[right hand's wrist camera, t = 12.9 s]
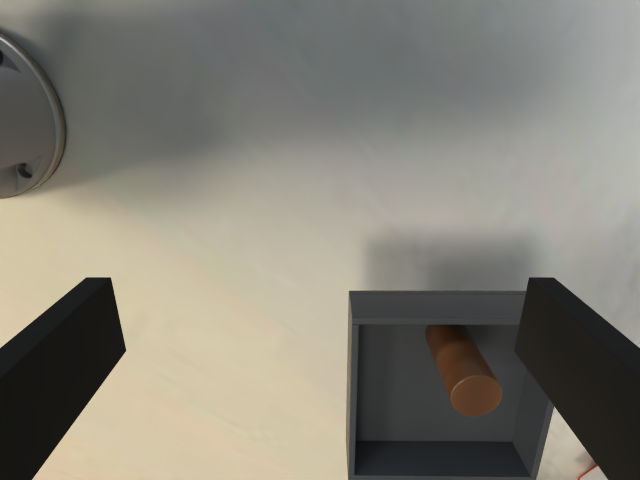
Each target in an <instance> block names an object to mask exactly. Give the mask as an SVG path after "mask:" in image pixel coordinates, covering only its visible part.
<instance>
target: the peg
mask: <svg viewBox="0 0 640 480" xmlns="http://www.w3.org/2000/svg"><path fill="white" fill-rule="evenodd" d="M425 339H426V342H427V344H428V347H429V349H430V352H431V354H432V357H433V359H434V362H435V364H436V367H437V369H438V372H439V374H440V377H441V379H442V382H443V384H444V387H445V389H446V392H447V394H448V397H449V399H450V402H451V404H452V406H453V407H454V409H455V410H456V411H458V412H459V413H461V414H463V415H466V416H481V415H485V414H487V413H489V412H491V411H492V410H494V409H495V408H496V407H497V406H498V404H499V403H500V401H501V399H502V388H501V386H500V384H499V382H498V381H497V379H496V377H495V376H494V374H493V372H492V370H491V369H490V367H489V365H488V364H487V362H486V360H485V359H484V357H483V355H482V354H481V352H480V350H479V349H478V347H477V345H476V344H475V342H474V340H473V339H472V337H471V335H470V334H469V332H468V330H467V328H466V327H465V325H428V327H427V329H426V331H425Z"/></svg>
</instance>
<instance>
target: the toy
mask: <svg viewBox="0 0 640 480" xmlns="http://www.w3.org/2000/svg"><path fill="white" fill-rule="evenodd" d="M578 480H608V479H607V477H606V476H605V475H604V473H603V472H602V471H601V469H600V468H599V467H598V465H596V466H595V467H594V468H592V469H591V470H589V471H588V472H587V473H585V474H584V475H582V476H581V477H580V478H578Z"/></svg>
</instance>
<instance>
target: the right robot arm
mask: <svg viewBox="0 0 640 480" xmlns="http://www.w3.org/2000/svg"><path fill="white" fill-rule="evenodd" d="M64 142H65V125H64V118H63V113H62V109H61V106H60V103H59V100H58V97H57V95H56V93H55V91H54V88H53V87H52V85H51V83H50V81H49V79H48V78H47V76H46V75H45V73H44V72H43V71H42V69H41V68H40V67H39V65H38V64H37V63H36V62H35V61H34V60H33V59H32V57H31V56H30V55H29V54H28V53H26V52H25V51H24V50H23V49H22V48H21V47H20V46H18V45H17V44H16V43H15V42H13V41H12V40H10V39H9V38H7V37H6V36H4V35H2V34H1V33H0V199H4V198H10V197H14V196H17V195H20V194H23V193H26V192H28V191H31V190H33V189H35V188H37V187H38V186H40V185H41V184H43V183H44V182H45V181H46V180H47V179H48V178H49V177H50V176H51V175H52V174H53V172H54V171H55V169H56V168H57V166H58V164H59V162H60V159H61V156H62V153H63V149H64ZM125 352H126V348H125V343H124V338H123V333H122V329H121V324H120V319H119V314H118V309H117V305H116V300H115V295H114V290H113V286H112V281H111V278H85V279H84V280H83V281H82V282H80V283H79V284H78V285H77V286H75V287H74V288H73V289H72V290H71V291H69V292H68V293H67V294H66V295H65V296H63V297H62V298H61V299H60V300H58V301H57V302H56V303H55V304H54V305H52V306H51V307H50V308H49V309H47V310H46V311H45V312H44V313H43V314H41V315H40V316H39V317H38V318H37V319H35V320H34V321H33V322H32V323H30V324H29V325H28V326H27V327H26V328H24V329H23V330H22V331H21V332H19V333H18V334H17V335H16V336H15V337H13V338H12V339H11V340H10V341H9V342H7V343H6V344H5V345H4V346H2V347H1V348H0V480H32V479H33V477H34V476H35V475H36V473H37V472H38V471H39V469H40V468H41V467H42V465H43V464H44V462H45V461H46V460H47V458H48V457H49V456H50V454H51V453H52V452H53V450H54V449H55V447H56V446H57V445H58V443H59V442H60V441H61V439H62V438H63V436H64V435H65V434H66V432H67V431H68V430H69V428H70V427H71V426H72V424H73V423H74V421H75V420H76V419H77V417H78V416H79V415H80V413H81V412H82V410H83V409H84V408H85V406H86V405H87V404H88V402H89V401H90V400H91V398H92V397H93V395H94V394H95V393H96V391H97V390H98V389H99V387H100V386H101V384H102V383H103V382H104V380H105V379H106V378H107V376H108V375H109V374H110V372H111V371H112V369H113V368H114V367H115V365H116V364H117V363H118V361H119V360H120V358H121V357H122V356H123V354H124V353H125ZM514 352H515V353H516V354H517V356H518V357H519V358H520V360H521V361H522V363H523V364H524V365H525V367H526V368H527V369H528V371H529V372H530V374H531V375H532V376H533V378H534V379H535V380H536V382H537V383H538V384H539V386H540V387H541V389H542V390H543V391H544V393H545V394H546V395H547V397H548V398H549V400H550V401H551V402H552V404H553V405H554V406H555V408H556V409H557V410H558V412H559V413H560V415H561V416H562V417H563V419H564V420H565V421H566V423H567V424H568V426H569V427H570V428H571V430H572V431H573V432H574V434H575V435H576V436H577V438H578V439H579V441H580V442H581V443H582V445H583V446H584V447H585V449H586V450H587V452H588V453H589V454H590V456H591V457H592V458H593V460H594V461H595V462H596V464H597V465H598V467H599V468H600V469H601V471H602V472H603V473H604V475H605V476H606V477H607V479H608V480H640V348H639V347H638V346H636V345H635V344H634V343H633V342H631V341H630V340H629V339H628V338H627V337H625V336H624V335H623V334H622V333H621V332H619V331H618V330H617V329H616V328H614V327H613V326H612V325H611V324H610V323H608V322H607V321H606V320H605V319H603V318H602V317H601V316H600V315H599V314H597V313H596V312H595V311H594V310H593V309H591V308H590V307H589V306H588V305H586V304H585V303H584V302H583V301H582V300H580V299H579V298H578V297H577V296H575V295H574V294H573V293H572V292H571V291H569V290H568V289H567V288H566V287H565V286H563V285H562V284H561V283H560V282H558V281H557V280H556V279H555V278H529V281H528V286H527V290H526V295H525V300H524V305H523V309H522V314H521V319H520V324H519V329H518V333H517V338H516V343H515V348H514Z"/></svg>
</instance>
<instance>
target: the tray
mask: <svg viewBox="0 0 640 480" xmlns="http://www.w3.org/2000/svg"><path fill="white" fill-rule="evenodd" d="M525 295H526V291H349V311H348V361H347V411H346V449H347V467H348V480H536V478H537V474H538V470H539V466H540V462H541V458H542V454H543V450H544V445H545V441H546V437H547V433H548V429H549V425H550V421H551V417H552V413H553V409H554V405H553V404H552V402H551V401H550V400H549V398H548V397H547V395H546V394H545V393H544V391H543V390H542V389H541V387H540V386H539V384H538V383H537V382H536V380H535V379H534V378H533V376H532V375H531V374H530V372H529V371H528V369H527V368H526V367H525V365H524V364H523V363H522V361H521V360H520V358H519V357H518V356H517V354H516V353H515V352H514V348H515V343H516V338H517V333H518V329H519V324H520V319H521V314H522V309H523V305H524V300H525ZM428 325H465V327H466V328H467V330H468V332H469V334H470V335H471V337H472V339H473V340H474V342H475V344H476V345H477V347H478V349H479V350H480V352H481V354H482V355H483V357H484V359H485V360H486V362H487V364H488V365H489V367H490V369H491V370H492V372H493V374H494V376H495V377H496V379H497V381H498V382H499V384H500V386H501V388H502V399H501V401H500V403H499V404H498V406H497V407H496V408H495V409H494V410H492V411H491V412H489V413H487V414H485V415H481V416H466V415H463V414H461V413H459V412H458V411H456V410H455V409H454V407H453V406H452V404H451V402H450V399H449V397H448V394H447V392H446V389H445V387H444V384H443V382H442V379H441V377H440V374H439V372H438V369H437V367H436V364H435V362H434V359H433V357H432V354H431V352H430V349H429V347H428V344H427V342H426V339H425V331H426V329H427V327H428Z"/></svg>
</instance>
